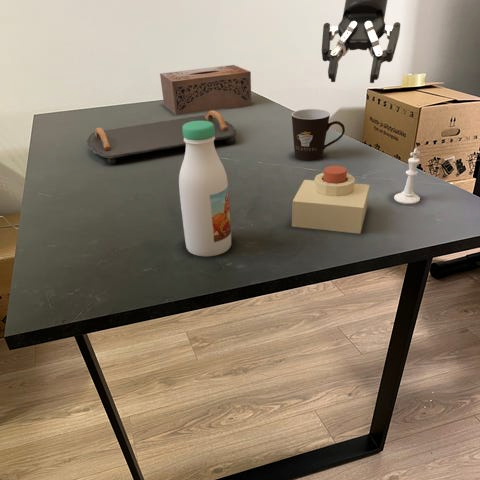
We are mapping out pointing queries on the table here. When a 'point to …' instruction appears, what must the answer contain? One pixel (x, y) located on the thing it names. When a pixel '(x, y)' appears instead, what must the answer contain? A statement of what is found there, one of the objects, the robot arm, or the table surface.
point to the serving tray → (152, 136)
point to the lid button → (335, 174)
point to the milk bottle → (204, 193)
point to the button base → (330, 205)
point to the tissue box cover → (206, 89)
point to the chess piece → (409, 182)
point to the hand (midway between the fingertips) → (352, 79)
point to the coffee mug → (311, 133)
